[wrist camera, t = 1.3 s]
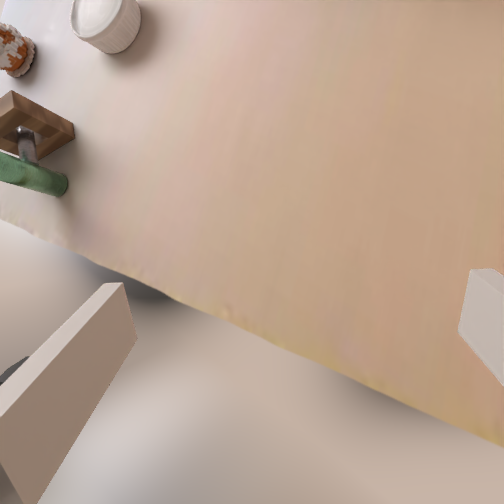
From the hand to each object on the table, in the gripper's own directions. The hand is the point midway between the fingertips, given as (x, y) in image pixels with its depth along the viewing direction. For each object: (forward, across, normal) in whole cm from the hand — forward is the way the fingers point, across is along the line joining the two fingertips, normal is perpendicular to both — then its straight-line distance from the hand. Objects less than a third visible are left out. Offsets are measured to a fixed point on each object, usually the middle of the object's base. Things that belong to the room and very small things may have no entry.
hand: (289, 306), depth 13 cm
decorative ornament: (+59, -49, +21) cm, 79 cm away
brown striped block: (+47, -40, +5) cm, 62 cm away
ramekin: (+52, -25, +22) cm, 62 cm away
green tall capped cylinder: (+45, -39, +3) cm, 59 cm away
